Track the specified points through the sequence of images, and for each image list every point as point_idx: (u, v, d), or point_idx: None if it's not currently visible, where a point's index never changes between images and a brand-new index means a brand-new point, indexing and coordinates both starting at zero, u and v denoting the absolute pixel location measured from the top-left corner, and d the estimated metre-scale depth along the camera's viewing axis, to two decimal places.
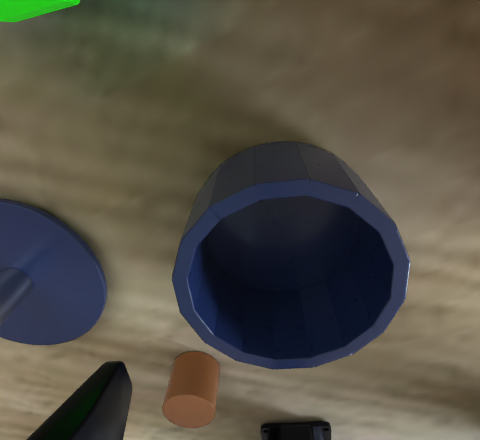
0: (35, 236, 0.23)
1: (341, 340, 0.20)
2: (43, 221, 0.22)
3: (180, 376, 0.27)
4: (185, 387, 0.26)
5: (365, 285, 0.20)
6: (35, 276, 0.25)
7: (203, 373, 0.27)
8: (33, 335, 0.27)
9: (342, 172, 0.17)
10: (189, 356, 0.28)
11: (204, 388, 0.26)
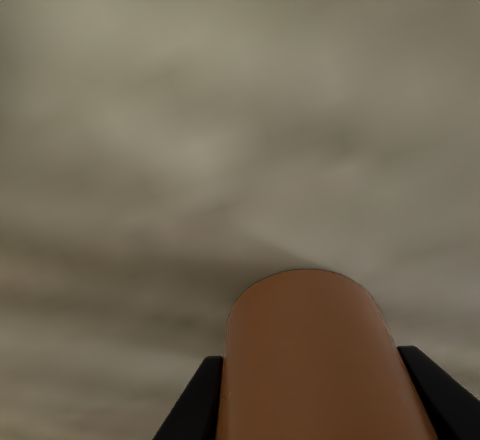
0: None
1: None
2: None
3: (281, 351, 0.06)
4: (327, 401, 0.05)
5: None
6: None
7: (373, 339, 0.07)
8: None
9: None
10: (295, 282, 0.08)
11: (408, 405, 0.06)
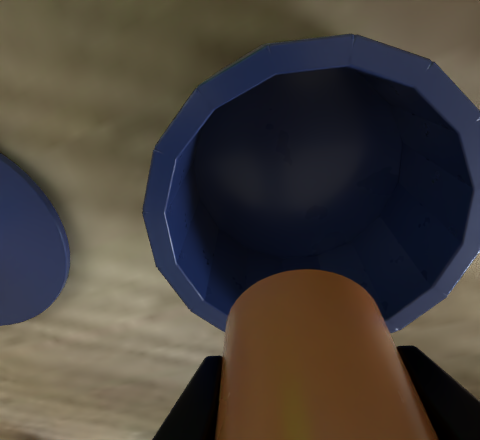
0: None
1: (382, 311, 0.14)
2: None
3: (281, 351, 0.06)
4: (326, 402, 0.05)
5: (415, 237, 0.15)
6: None
7: (373, 339, 0.07)
8: None
9: None
10: (295, 282, 0.08)
11: (408, 405, 0.06)
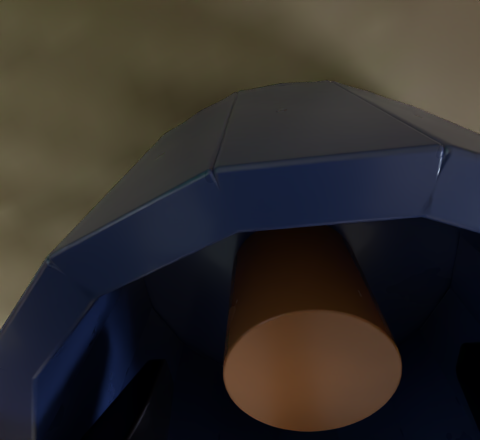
0: None
1: None
2: None
3: (275, 268, 0.08)
4: (306, 291, 0.07)
5: None
6: None
7: (344, 262, 0.09)
8: None
9: None
10: None
11: (364, 298, 0.08)
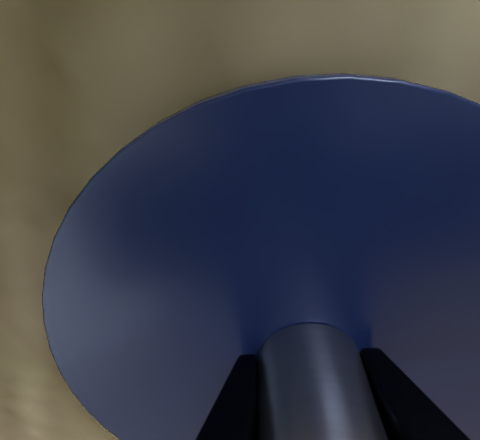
0: (138, 272, 0.07)
1: None
2: (74, 236, 0.07)
3: None
4: None
5: None
6: (290, 309, 0.08)
7: None
8: None
9: None
10: None
11: None
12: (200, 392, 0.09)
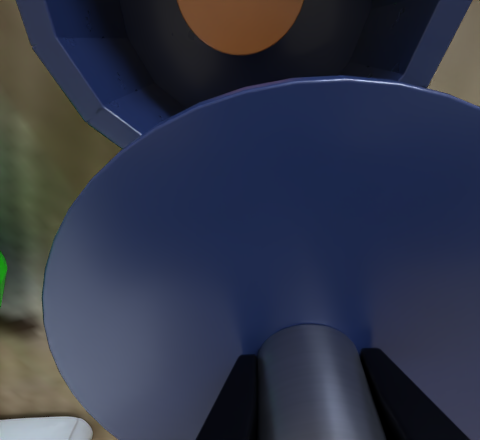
0: (137, 273, 0.07)
1: None
2: (74, 237, 0.07)
3: None
4: None
5: None
6: (290, 310, 0.08)
7: None
8: None
9: None
10: None
11: None
12: (199, 393, 0.09)
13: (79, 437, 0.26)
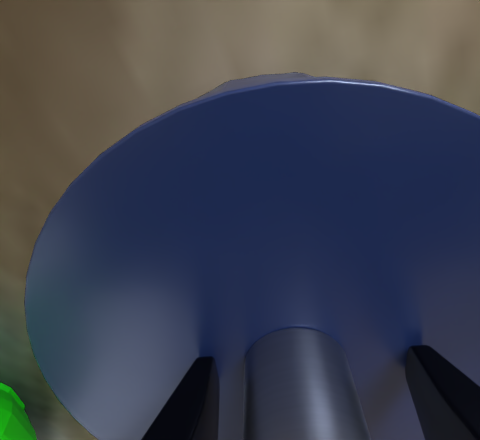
0: (121, 277, 0.07)
1: None
2: (55, 242, 0.07)
3: None
4: None
5: None
6: (276, 314, 0.08)
7: None
8: None
9: None
10: None
11: None
12: None
13: None
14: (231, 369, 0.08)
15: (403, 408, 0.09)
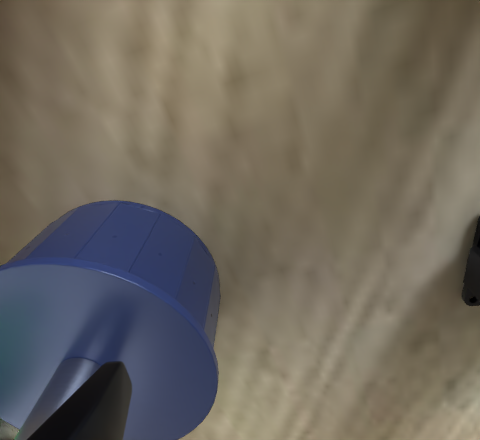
0: None
1: None
2: None
3: None
4: None
5: None
6: (65, 351, 0.16)
7: None
8: (194, 382, 0.16)
9: None
10: None
11: None
12: (35, 392, 0.17)
13: None
14: None
15: (148, 398, 0.17)
